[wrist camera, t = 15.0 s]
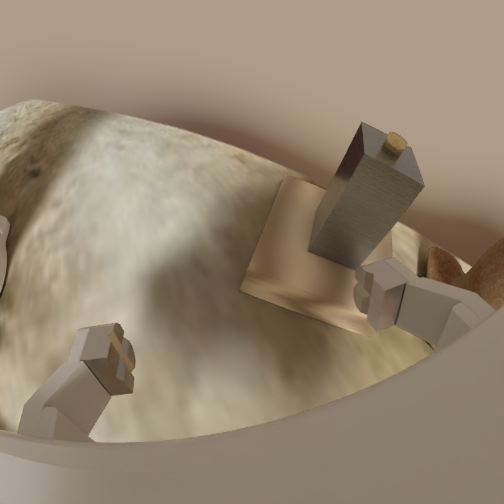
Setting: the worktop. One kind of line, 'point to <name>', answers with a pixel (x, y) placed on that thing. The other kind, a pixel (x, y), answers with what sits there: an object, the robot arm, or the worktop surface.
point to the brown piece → (471, 273)
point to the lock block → (365, 197)
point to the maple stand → (305, 263)
